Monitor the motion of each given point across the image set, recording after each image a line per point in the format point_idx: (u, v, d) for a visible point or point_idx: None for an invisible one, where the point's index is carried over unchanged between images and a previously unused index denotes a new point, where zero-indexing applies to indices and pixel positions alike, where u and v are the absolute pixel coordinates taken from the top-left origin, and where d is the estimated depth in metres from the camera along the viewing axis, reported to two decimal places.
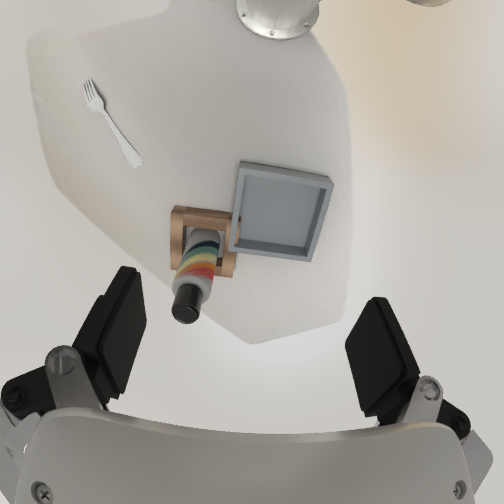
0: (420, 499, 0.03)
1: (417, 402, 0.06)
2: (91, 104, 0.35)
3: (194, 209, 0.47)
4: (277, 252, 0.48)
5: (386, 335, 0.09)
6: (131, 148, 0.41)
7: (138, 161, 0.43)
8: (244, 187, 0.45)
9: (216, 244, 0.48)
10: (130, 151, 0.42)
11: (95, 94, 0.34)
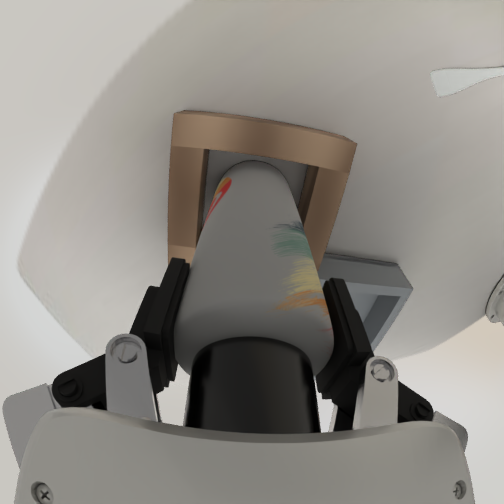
0: (420, 499, 0.03)
1: (372, 388, 0.07)
2: None
3: None
4: None
5: (338, 313, 0.09)
6: (463, 87, 0.15)
7: (441, 88, 0.15)
8: None
9: None
10: (459, 82, 0.15)
11: None
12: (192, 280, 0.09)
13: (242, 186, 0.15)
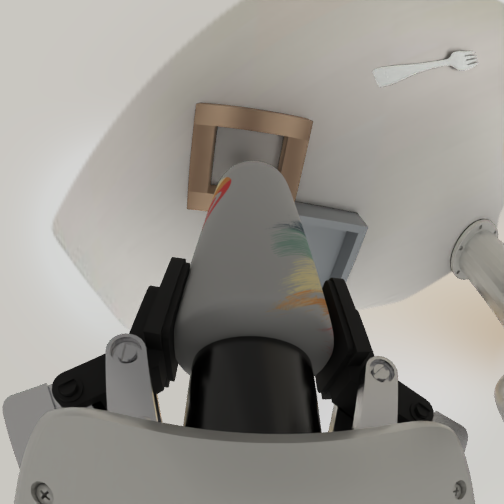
0: (420, 499, 0.03)
1: (372, 388, 0.07)
2: (461, 56, 0.20)
3: None
4: None
5: (337, 313, 0.09)
6: (400, 78, 0.24)
7: (381, 81, 0.25)
8: None
9: None
10: (397, 75, 0.24)
11: (469, 66, 0.20)
12: (192, 280, 0.09)
13: (242, 186, 0.15)
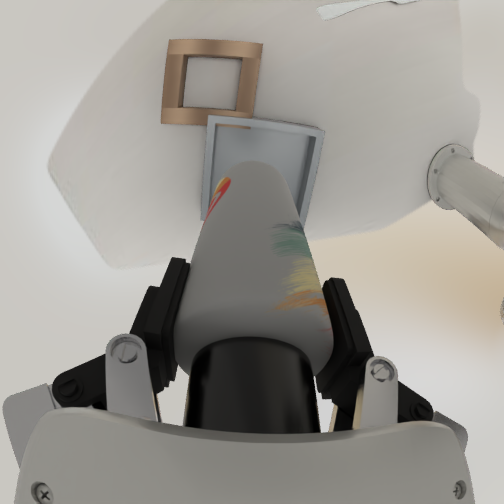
0: (420, 499, 0.03)
1: (372, 388, 0.07)
2: None
3: None
4: (210, 178, 0.36)
5: (337, 313, 0.09)
6: (343, 12, 0.25)
7: (325, 15, 0.26)
8: (288, 131, 0.35)
9: None
10: (339, 10, 0.25)
11: (409, 0, 0.21)
12: (191, 280, 0.09)
13: (241, 186, 0.15)
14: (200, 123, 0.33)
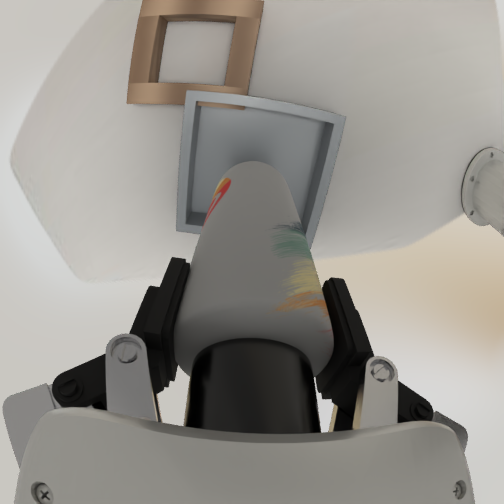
0: (420, 499, 0.03)
1: (372, 388, 0.07)
2: None
3: (257, 36, 0.21)
4: (188, 176, 0.26)
5: (337, 313, 0.09)
6: None
7: None
8: (296, 116, 0.26)
9: None
10: None
11: None
12: (192, 281, 0.09)
13: (241, 187, 0.15)
14: (176, 102, 0.23)
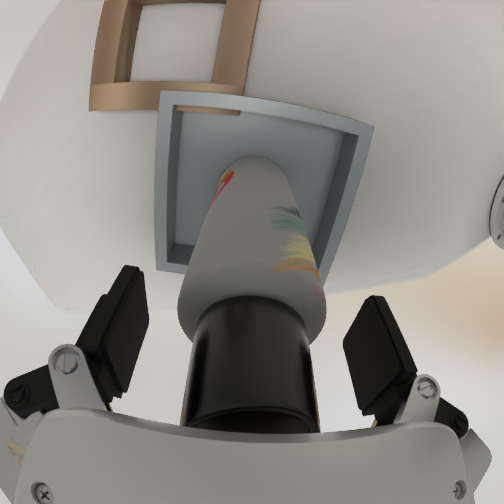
0: (420, 499, 0.03)
1: (414, 401, 0.06)
2: None
3: (256, 19, 0.15)
4: (166, 203, 0.20)
5: (383, 333, 0.09)
6: None
7: None
8: (307, 123, 0.20)
9: None
10: None
11: None
12: (198, 251, 0.10)
13: (243, 176, 0.16)
14: (149, 107, 0.17)
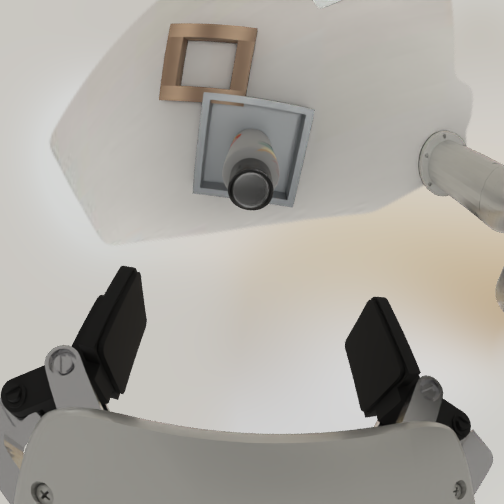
0: (420, 499, 0.03)
1: (417, 402, 0.06)
2: None
3: None
4: (203, 152, 0.36)
5: (386, 335, 0.09)
6: (336, 0, 0.26)
7: (320, 3, 0.26)
8: (280, 110, 0.36)
9: None
10: None
11: None
12: (230, 151, 0.27)
13: (246, 134, 0.32)
14: (196, 100, 0.33)
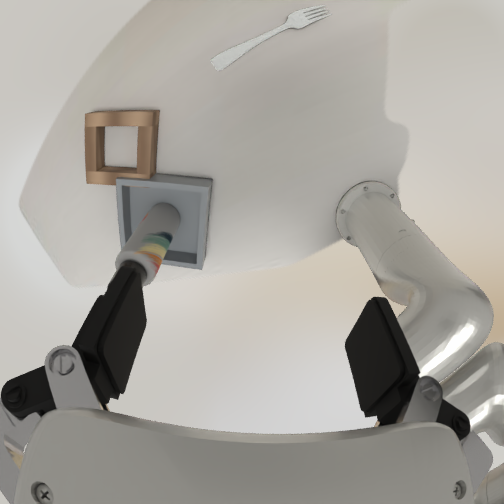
0: (420, 499, 0.03)
1: (417, 402, 0.06)
2: (298, 15, 0.27)
3: (156, 133, 0.38)
4: (124, 227, 0.43)
5: (386, 335, 0.09)
6: (236, 57, 0.32)
7: (219, 65, 0.33)
8: None
9: None
10: (232, 56, 0.32)
11: (310, 20, 0.27)
12: None
13: (147, 218, 0.39)
14: (113, 184, 0.39)
